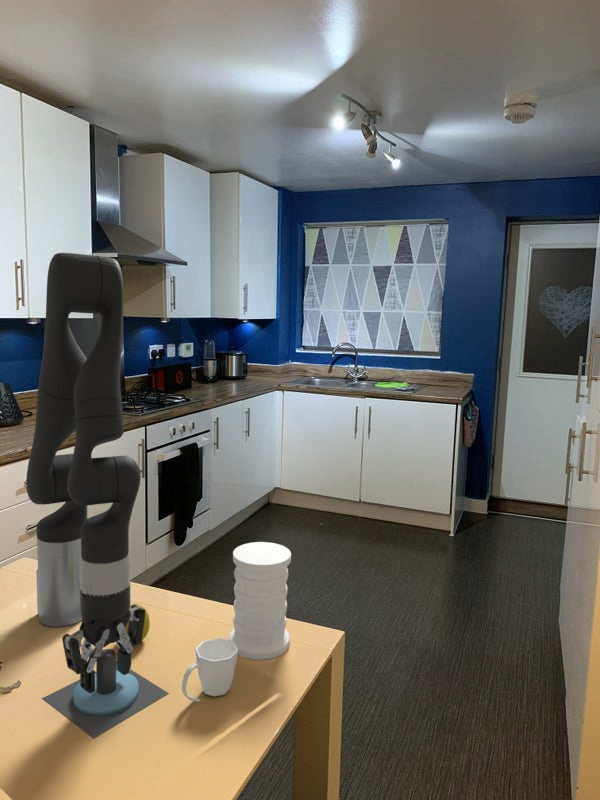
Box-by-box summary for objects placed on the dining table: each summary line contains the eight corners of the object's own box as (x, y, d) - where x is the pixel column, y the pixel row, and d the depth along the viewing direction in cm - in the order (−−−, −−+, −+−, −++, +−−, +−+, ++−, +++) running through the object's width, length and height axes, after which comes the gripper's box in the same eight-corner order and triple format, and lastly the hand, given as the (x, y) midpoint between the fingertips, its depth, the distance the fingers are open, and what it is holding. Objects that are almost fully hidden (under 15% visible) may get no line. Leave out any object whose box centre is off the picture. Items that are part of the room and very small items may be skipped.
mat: (42, 701, 98) (42, 698, 98) (117, 663, 109) (116, 660, 109) (93, 742, 90) (93, 738, 89) (169, 696, 100) (169, 693, 100)
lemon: (141, 654, 112) (141, 613, 111) (113, 649, 113) (113, 609, 112) (154, 638, 118) (154, 599, 116) (127, 634, 119) (127, 595, 117)
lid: (60, 697, 98) (59, 655, 97) (113, 670, 106) (113, 631, 105) (97, 725, 92) (97, 680, 91) (151, 693, 100) (151, 652, 99)
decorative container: (279, 664, 111) (282, 569, 108) (219, 652, 114) (221, 560, 111) (296, 632, 122) (300, 546, 119) (241, 622, 125) (244, 537, 122)
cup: (245, 695, 102) (247, 649, 100) (196, 722, 95) (196, 674, 93) (219, 676, 106) (220, 632, 105) (170, 701, 99) (170, 654, 98)
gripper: (128, 561, 104) (129, 654, 107) (49, 590, 93) (51, 692, 95) (157, 574, 100) (157, 671, 102) (77, 606, 88) (79, 713, 91)
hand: (106, 681), depth 99 cm, fingers open, 5 cm apart
